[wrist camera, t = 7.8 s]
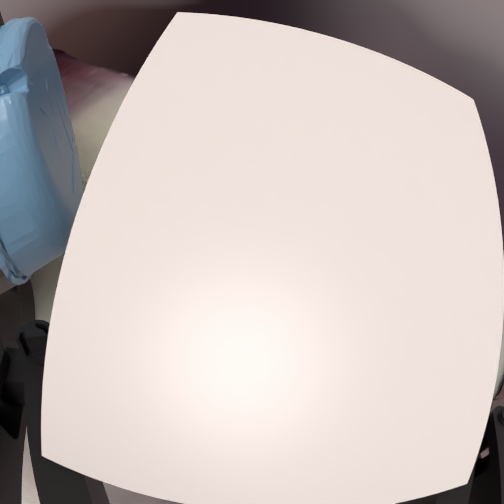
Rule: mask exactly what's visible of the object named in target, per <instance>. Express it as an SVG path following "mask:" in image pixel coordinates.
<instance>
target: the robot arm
mask: <svg viewBox="0 0 504 504" xmlns="http://www.w3.org/2000/svg"><path fill="white" fill-rule="evenodd" d="M83 193H84V189H83V181H82V174H81V168H80V163H79V157H78V152H77V147H76V142H75V137H74V133H73V128H72V123H71V119H70V114H69V110H68V106H67V101H66V97H65V93H64V89H63V85H62V81H61V77H60V73H59V70H58V66H57V63H56V59H55V56H54V53H53V50H52V48H51V47H50V46H49V42H48V39H47V35H46V32H45V30H44V28H43V26H42V25H41V23H40V22H39V21H38V20H37V19H35V18H33V17H25V18H22V19H17V18H15V19H12V20H10V21H9V22H7V23H6V24H4V22H3V19H2V16H1V13H0V504H21V491H22V465H23V452H24V442H25V433H26V425H27V434H28V442H29V449H30V456H31V462H32V467H33V473H34V478H35V483H36V487H37V492H38V496H39V500H40V504H110V503H109V500H108V497H107V495H106V492H105V489H104V486H103V483H102V481H99V480H97V479H94V478H91V477H89V476H86V475H84V474H81V473H79V472H76V471H74V470H71V469H69V468H67V467H64V466H62V465H60V464H58V463H56V462H54V461H51V460H49V459H47V458H45V457H43V456H42V451H41V407H42V387H43V374H44V364H45V355H46V347H47V339H48V332H49V326H50V323H48V322H46V321H44V320H34V301H33V294H32V289H31V284H30V281H29V279H30V277H31V276H32V273H34V272H35V271H37V270H38V269H40V268H42V267H43V266H45V265H46V264H48V263H50V262H51V261H53V260H55V259H56V258H58V257H60V256H61V255H63V254H64V253H65V251H66V247H67V244H68V240H69V237H70V233H71V230H72V227H73V223H74V220H75V217H76V214H77V211H78V208H79V205H80V202H81V199H82V196H83ZM487 448H489V454H488V455H487V456H485V457H484V458H482V457H481V453H482V452H483V451H485V450H486V449H487ZM395 504H504V407H503V406H497V407H495V408H494V409H493V410H492V411H491V412H490V413H489V417H488V421H487V425H486V428H485V432H484V436H483V439H482V442H481V446H480V449H479V452H478V455H477V458H476V461H475V464H474V467H473V470H472V472H471V475H470V478H469V480H468V483H467V484H465V485H462V486H459V487H456V488H453V489H450V490H447V491H443V492H440V493H436V494H433V495H429V496H425V497H422V498H418V499H413V500H409V501H405V502H400V503H395Z"/></svg>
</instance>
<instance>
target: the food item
mask: <svg viewBox="0 0 504 504" xmlns="http://www.w3.org/2000/svg"><path fill="white" fill-rule="evenodd" d="M497 406H503V407H504V383H503V386H502V389H501V391H500V393H499V395H497V396H496V397H495V398H494V399H493V400H492V404H491V408H490V412H491V411H492V410H493V409H494V408H495V407H497ZM490 412H489V413H490ZM488 454H489V448H487V449H486V450H485V451H483V452H482V453H481V457H482V458H484V457H485V456H487V455H488Z"/></svg>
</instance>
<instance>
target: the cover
mask: <svg viewBox="0 0 504 504" xmlns="http://www.w3.org/2000/svg"><path fill="white" fill-rule="evenodd" d="M503 312H504V259H503V242H502V230H501V221H500V212H499V205H498V198H497V192H496V186H495V180H494V175H493V170H492V165H491V161H490V156H489V152H488V148H487V144H486V140H485V136H484V132H483V129H482V125H481V122H480V118H479V115H478V112H477V109H476V106H475V103H474V100H473V99H472V98H470V97H469V96H466V95H465V94H463V93H462V92H460V91H458V90H456V89H454V88H453V87H451V86H449V85H447V84H445V83H443V82H442V81H440V80H438V79H436V78H434V77H432V76H430V75H428V74H426V73H424V72H422V71H419V70H417V69H415V68H413V67H411V66H409V65H406V64H404V63H402V62H399V61H397V60H394V59H392V58H390V57H387V56H385V55H382V54H380V53H377V52H374V51H372V50H369V49H366V48H363V47H361V46H358V45H354V44H352V43H349V42H346V41H343V40H339V39H336V38H333V37H329V36H326V35H322V34H319V33H315V32H311V31H307V30H303V29H299V28H295V27H290V26H286V25H280V24H276V23H271V22H265V21H259V20H253V19H246V18H239V17H231V16H223V15H213V14H200V13H181V12H178V13H177V14H176V15H175V17H174V18H173V19H172V21H171V22H170V24H169V25H168V27H167V28H166V30H165V31H164V33H163V34H162V36H161V37H160V39H159V40H158V42H157V43H156V45H155V46H154V48H153V50H152V52H151V53H150V55H149V56H148V58H147V59H146V61H145V63H144V65H143V66H142V68H141V70H140V71H139V73H138V75H137V77H136V78H135V80H134V82H133V84H132V86H131V88H130V89H129V91H128V93H127V95H126V97H125V99H124V101H123V103H122V105H121V107H120V109H119V111H118V113H117V115H116V117H115V119H114V121H113V123H112V125H111V127H110V130H109V132H108V134H107V136H106V138H105V141H104V143H103V145H102V147H101V150H100V152H99V155H98V157H97V159H96V162H95V164H94V167H93V169H92V172H91V174H90V177H89V180H88V182H87V185H86V188H85V191H84V193H83V196H82V199H81V202H80V205H79V208H78V211H77V214H76V217H75V220H74V223H73V227H72V230H71V233H70V237H69V240H68V244H67V247H66V251H65V255H64V259H63V263H62V267H61V271H60V275H59V279H58V284H57V288H56V293H55V298H54V303H53V308H52V314H51V320H50V326H49V332H48V339H47V347H46V355H45V364H44V374H43V387H42V407H41V451H42V456H43V457H45V458H47V459H49V460H51V461H54V462H56V463H58V464H60V465H62V466H64V467H67V468H69V469H71V470H74V471H76V472H79V473H81V474H84V475H86V476H89V477H91V478H94V479H97V480H99V481H102V482H105V483H108V484H111V485H114V486H117V487H120V488H123V489H126V490H130V491H133V492H137V493H140V494H144V495H148V496H151V497H155V498H160V499H164V500H168V501H173V502H178V503H183V504H395V503H400V502H405V501H409V500H413V499H418V498H422V497H425V496H429V495H433V494H436V493H440V492H443V491H447V490H450V489H453V488H456V487H459V486H462V485H465V484H467V483H468V480H469V478H470V475H471V472H472V470H473V467H474V464H475V461H476V458H477V455H478V452H479V449H480V446H481V442H482V439H483V436H484V432H485V428H486V425H487V421H488V417H489V412H490V408H491V404H492V399H493V394H494V389H495V383H496V378H497V371H498V365H499V357H500V349H501V340H502V328H503Z"/></svg>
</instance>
